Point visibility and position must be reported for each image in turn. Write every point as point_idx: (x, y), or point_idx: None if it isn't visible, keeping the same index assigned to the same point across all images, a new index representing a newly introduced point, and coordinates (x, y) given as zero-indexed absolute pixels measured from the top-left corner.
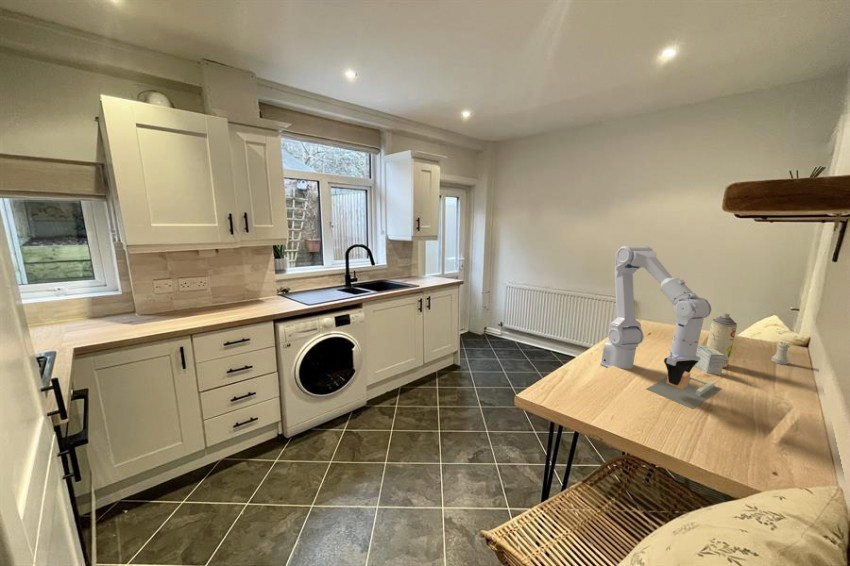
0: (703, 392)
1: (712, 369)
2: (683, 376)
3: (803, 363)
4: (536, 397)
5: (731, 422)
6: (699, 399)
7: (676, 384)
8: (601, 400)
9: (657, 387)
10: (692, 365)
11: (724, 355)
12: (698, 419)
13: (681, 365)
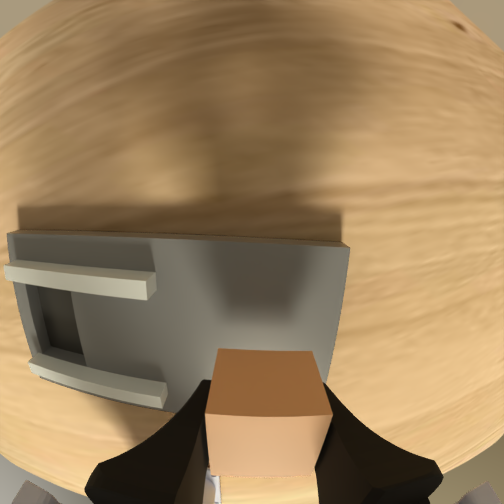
0: (108, 270)
1: None
2: (330, 418)
3: None
4: (492, 438)
5: (260, 109)
6: (196, 261)
7: (326, 387)
8: (452, 413)
9: None
10: (185, 473)
11: None
12: (368, 209)
13: (417, 497)
